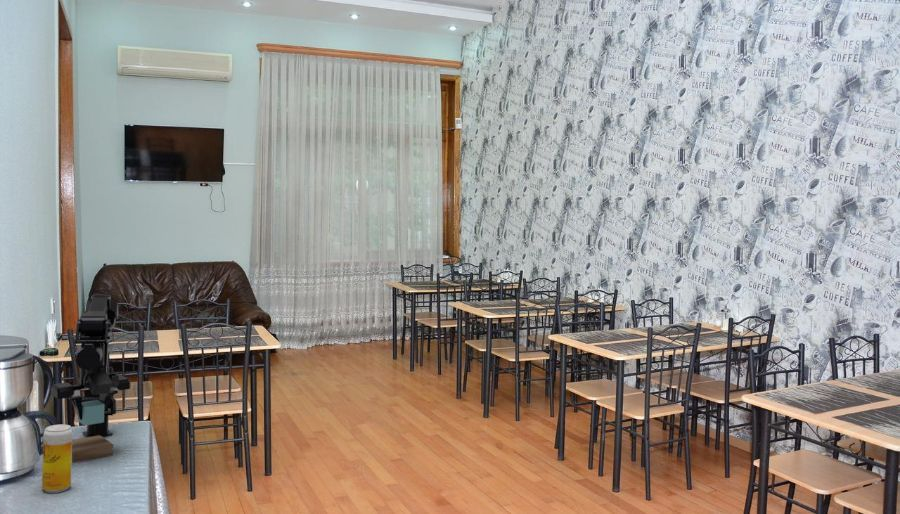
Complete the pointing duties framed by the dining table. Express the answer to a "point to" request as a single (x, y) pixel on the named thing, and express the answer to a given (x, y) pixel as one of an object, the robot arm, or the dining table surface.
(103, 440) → the walnut base
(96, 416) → the block
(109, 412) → the robot arm
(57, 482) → the beer can
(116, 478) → the dining table surface
